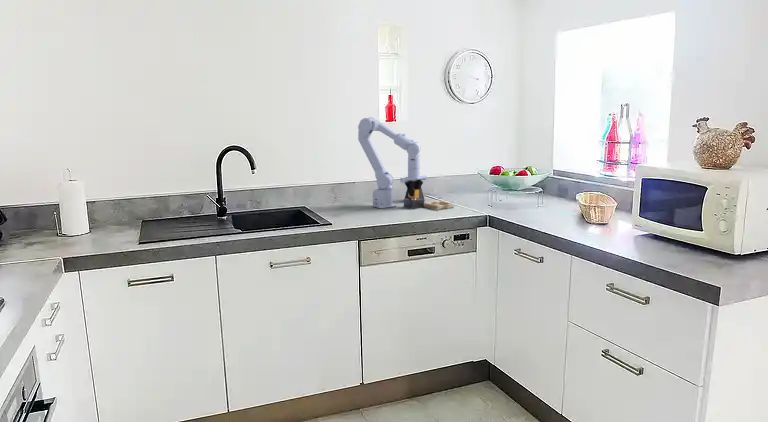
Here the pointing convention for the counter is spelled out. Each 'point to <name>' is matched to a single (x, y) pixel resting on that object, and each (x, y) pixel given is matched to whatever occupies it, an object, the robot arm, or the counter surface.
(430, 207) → the key tray
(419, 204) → the chuck block
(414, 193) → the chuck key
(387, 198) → the robot arm
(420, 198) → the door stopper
